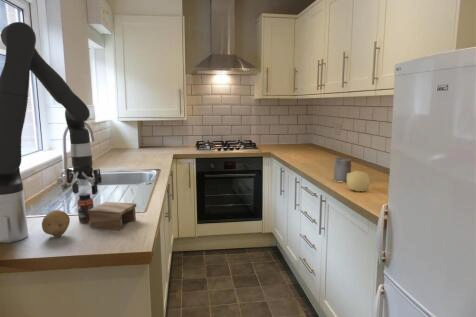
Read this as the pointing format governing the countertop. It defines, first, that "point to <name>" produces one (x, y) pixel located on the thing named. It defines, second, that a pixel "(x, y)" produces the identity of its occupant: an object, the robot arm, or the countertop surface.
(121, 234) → the countertop surface
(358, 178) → the tan rounded lump
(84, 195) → the supplement bottle
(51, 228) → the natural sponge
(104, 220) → the walnut shelf
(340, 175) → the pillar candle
